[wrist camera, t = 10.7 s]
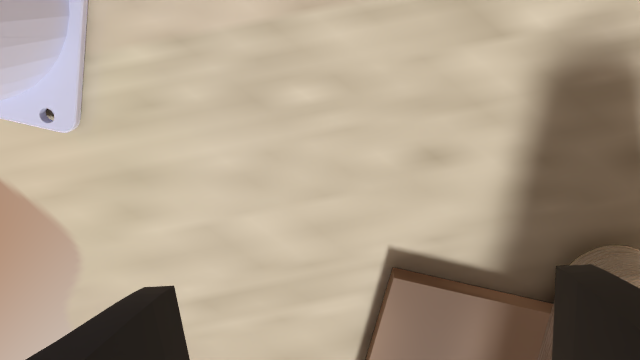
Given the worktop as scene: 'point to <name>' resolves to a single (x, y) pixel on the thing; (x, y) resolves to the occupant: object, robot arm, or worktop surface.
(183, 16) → the worktop surface
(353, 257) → the worktop surface
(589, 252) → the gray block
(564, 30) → the worktop surface
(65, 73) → the robot arm
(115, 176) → the worktop surface
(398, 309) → the walnut board
